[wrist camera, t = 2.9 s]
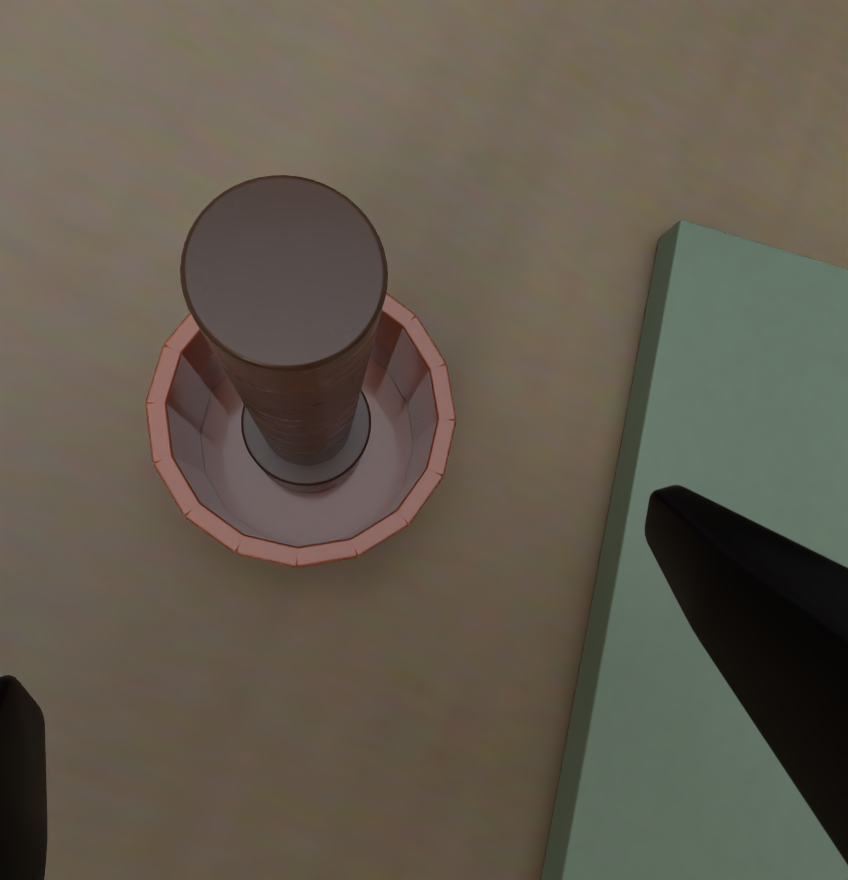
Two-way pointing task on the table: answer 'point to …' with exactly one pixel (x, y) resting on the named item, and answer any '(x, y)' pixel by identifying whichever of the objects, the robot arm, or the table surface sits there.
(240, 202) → the stirrer
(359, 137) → the table surface
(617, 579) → the board
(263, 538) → the cup
